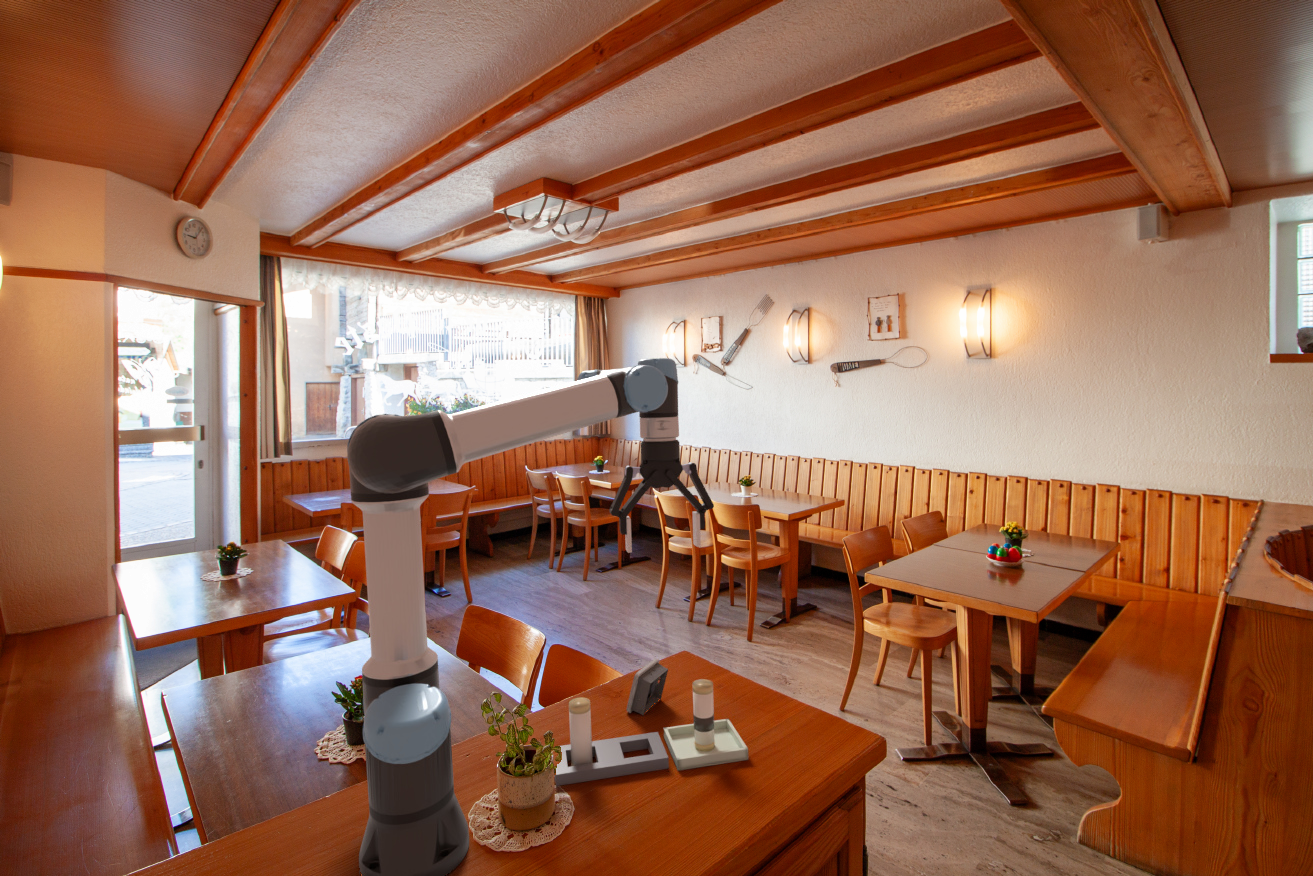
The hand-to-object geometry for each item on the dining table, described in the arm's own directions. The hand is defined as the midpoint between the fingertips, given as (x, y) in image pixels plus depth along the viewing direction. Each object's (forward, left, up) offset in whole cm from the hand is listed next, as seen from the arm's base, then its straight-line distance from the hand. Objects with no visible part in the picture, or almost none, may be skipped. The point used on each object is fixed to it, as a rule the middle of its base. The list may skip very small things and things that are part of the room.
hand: (663, 548), depth 124 cm
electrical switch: (-2, +11, -37) cm, 39 cm away
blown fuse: (+5, -8, -36) cm, 37 cm away
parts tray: (+5, -8, -37) cm, 38 cm away
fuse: (-18, -8, -37) cm, 42 cm away
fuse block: (-13, -8, -37) cm, 40 cm away
